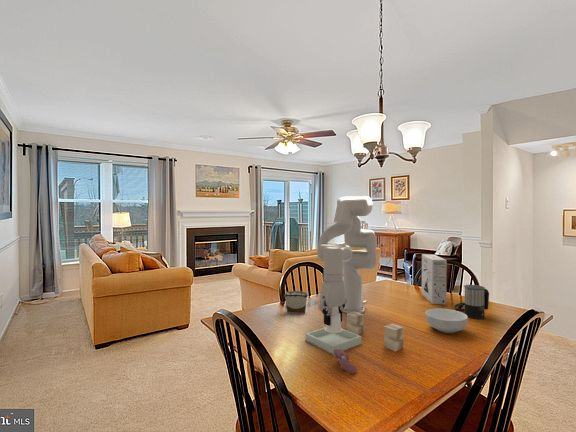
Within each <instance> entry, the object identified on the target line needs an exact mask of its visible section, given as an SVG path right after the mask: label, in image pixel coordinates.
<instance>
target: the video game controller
mask: <svg viewBox="0 0 576 432" xmlns="http://www.w3.org/2000/svg"><path fill="white" fill-rule="evenodd" d="M333 357H334V358H337V360H338V362H339V365H340V369H342V370H343V371H346V372H348V373H349V374H356V373H357V370H358V369H357V367H356V366H355V365H353V364H352V363H351V362H350V361H349V360H350V356H349V355H348V354H347V352H345V350H344V351H343V350H341V349H340V348H338V349H335V350H334V355H333Z"/></svg>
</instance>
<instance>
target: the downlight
mask: <svg viewBox="0 0 576 432" xmlns="http://www.w3.org/2000/svg"><path fill="white" fill-rule="evenodd" d="M327 309H328V308H327ZM327 309H326V310H327ZM338 309H339V307H338V306H336V307H333V308H331V310H330V314H329V315H330V316H331V325H330V326H328V325H326V324H324V322H323V325H322V326H323V327H326V328H325V331H326V332H329V333H339V332H341V331H342V330H343V325H344V324H341V323H342V322H341V318H340V313H339V310H338Z"/></svg>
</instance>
